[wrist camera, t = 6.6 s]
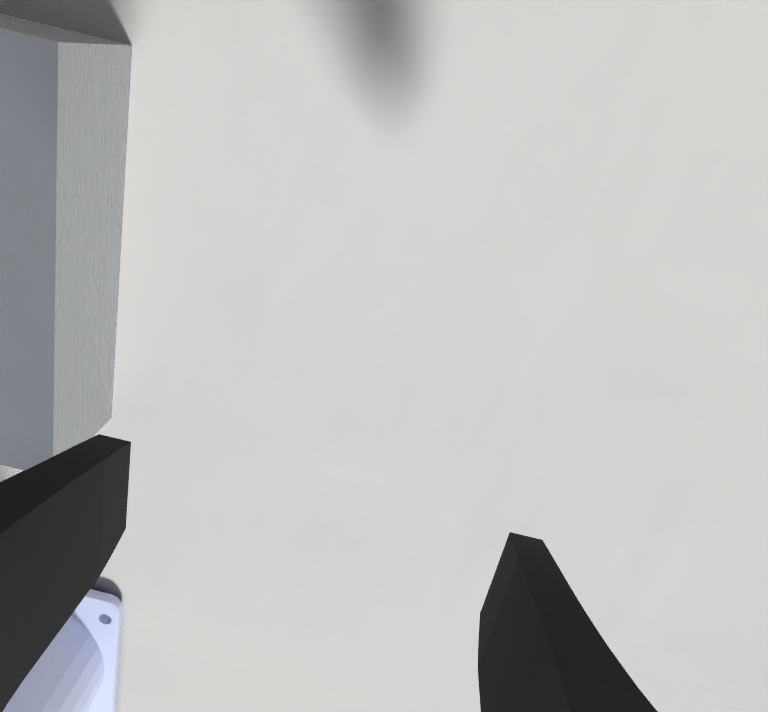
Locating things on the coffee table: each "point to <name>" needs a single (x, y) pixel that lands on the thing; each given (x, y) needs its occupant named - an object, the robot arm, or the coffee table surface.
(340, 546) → the coffee table surface
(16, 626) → the robot arm
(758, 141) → the coffee table surface
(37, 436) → the grey metal block
